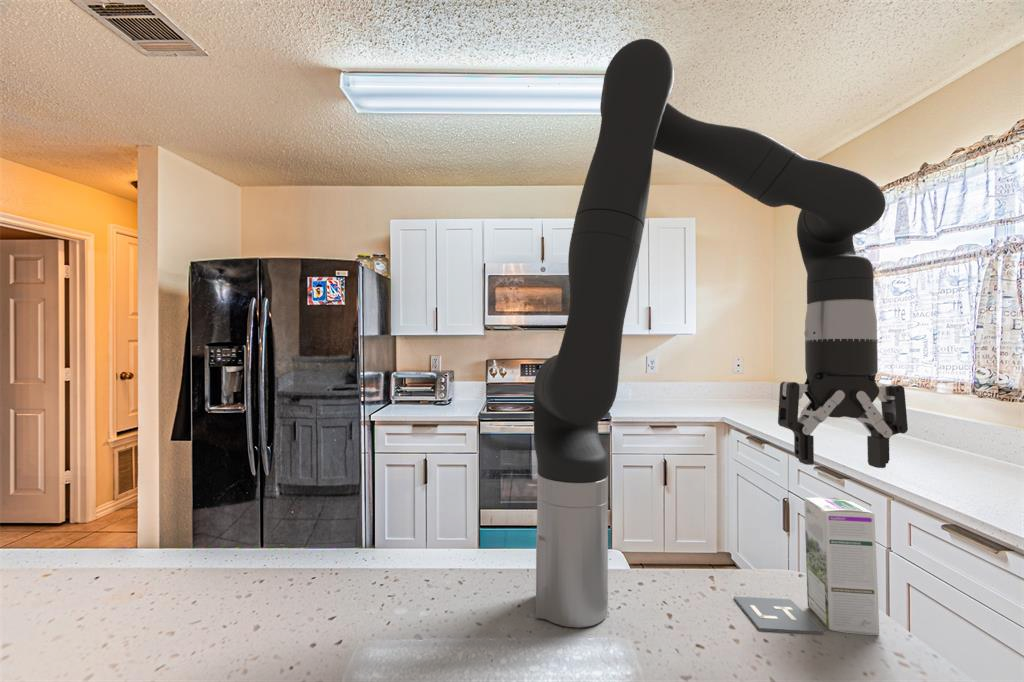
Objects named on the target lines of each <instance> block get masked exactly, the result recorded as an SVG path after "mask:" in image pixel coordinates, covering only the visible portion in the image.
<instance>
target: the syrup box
mask: <svg viewBox="0 0 1024 682" xmlns="http://www.w3.org/2000/svg"><path fill="white" fill-rule="evenodd" d="M803 501H804V528H805V529H804V531H805V535H804V536H805V561H806V562H805V563H806V569H805V571H806V589H807V591H806V594H807V595H806V596H807V599H806V600H807V607H808V608H809V609H810V610H811V612H813V614H814V615H815V616H816V617H817V618H818V619H819V620H820V621H821V622H822V623H823V625H824V626H825V627H826V628H827V629H828V630H830V631H832V632H837V633H838V632H840V633H846V634H856V635H868V636H880V617H879V616H880V615H879V614H880V613H879V591H878V590H879V588H878V585H879V584H878V569H877V546H876V545H877V544H876V522H875V520H876V519H875V513H874V512H873V511H870V510H868V509H867V508H865V507H863V506H861V505H859V504H858V503H857V504H856V502H854V501H851V500H850V499H845V498H837V497H828V496H826V497H822V496H821V497H804V500H803Z"/></svg>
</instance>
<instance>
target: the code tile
mask: <svg viewBox="0 0 1024 682" xmlns="http://www.w3.org/2000/svg"><path fill="white" fill-rule="evenodd" d="M733 599H734V601H735V602H736V603H737V604H738V606H739V607H740V608H741V610H742V611H743V612H744V614H745V615H746V616H747V617H748V619H750V621H751V622H752V623H753V624H754V626H755V627H756V628H757V630H758V631H761V632H778V633H779V632H780V633H798V634H812V635H813V634H814V635H815V634H816V635H824V634H825V632H824V629H822V628H821V627H819V625H818V624H817V623H815V622H814V620H813V619H812V618H810V617H809V616H808V615H807V614H806V613H805V612H804V611H803V610H802V608H800V607H799V606H798V605H797V604H796V603H795V602H794V601H793V600H792V599H791V598H776V597H775V598H772V597H771V598H770V597H752V596H748V597H747V596H737V595H736V596H733Z"/></svg>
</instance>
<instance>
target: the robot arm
mask: <svg viewBox="0 0 1024 682" xmlns="http://www.w3.org/2000/svg"><path fill="white" fill-rule="evenodd" d="M674 69H675V68H674V63H673V60H672V58H671V56H670V54H669V52H668V51H667V49H666V48H665V47H664V46H663V45H662V44H660V42H657V41H655V40H653V39H651V38H640V39H639V38H638V39H635V40H633V41H630V42H628V43H626V44H624V46H623V47H621V48H620V49H619V50H618V51H617V52H616V53H615V54H614V56H613V57H612V58H611V59H610V61H609V63H608V66H607V68H606V71H605V73H604V76H603V84H602V91H601V96H600V97H601V98H600V117H601V122H600V126H599V127H600V128H599V134H598V138H597V143H596V147H595V149H594V153H593V156H592V158H591V161H590V165H589V168H588V170H587V174H586V177H585V180H584V184H583V187H582V190H581V191H582V192H581V195H580V199H579V202H578V205H577V210H576V212H575V213H576V214H575V216H574V217H575V218H574V222H573V227H572V233H571V237H570V241H569V247H568V248H569V249H568V259H567V260H568V262H567V263H568V264H567V267H568V284H569V286H568V287H569V310H568V317H567V320H566V326H565V329H564V332H563V337H562V340H561V343H560V347H559V350H558V354H556V355H553V356H551V357H549V358H547V359H546V360H545V361H544V362H543V363H542V364H541V365H540V367H539V368H538V370H537V372H536V374H535V378H534V383H533V384H534V385H533V442H534V449H535V455H536V461H537V465H536V466H537V470H536V471H537V483H536V484H537V493H536V494H537V497H536V505H537V506H536V509H537V510H536V513H537V514H536V539H535V541H536V543H535V546H536V548H535V549H536V551H535V554H536V555H535V618H536V619H543V620H547V621H549V622H550V623H553V624H556V625H559V626H562V627H567V628H586V627H592V626H595V625H597V624H599V623H602V622H603V621H604V620H605V618H606V617H607V615H608V613H609V611H608V609H609V608H608V603H609V592H608V591H609V590H608V589H609V588H608V587H609V586H608V585H609V583H608V581H609V580H608V579H609V578H608V577H609V575H608V574H609V571H608V570H609V566H608V565H609V564H608V563H609V559H608V558H609V549H608V548H609V542H608V541H609V536H608V535H609V534H608V533H609V462H608V461H609V458H608V455H607V452H606V451H605V449H604V446H603V444H602V442H601V439H600V438H601V437H600V433H599V422H601V420H602V419H604V418H605V417H606V416H607V415H608V413H609V412H610V411H611V408H612V407H613V405H614V403H615V400H616V396H617V392H618V386H619V376H620V375H619V374H620V364H621V352H622V342H623V332H624V323H625V317H626V314H627V309H628V304H629V301H630V297H631V290H632V287H633V281H634V275H635V270H636V266H637V262H638V258H639V253H640V249H641V243H642V239H643V233H644V229H645V222H646V216H647V209H648V201H649V194H650V187H651V178H652V177H651V176H652V167H653V156H654V150H655V151H657V152H659V153H662V154H664V155H668V156H669V157H672V158H675V159H677V160H679V161H682V162H685V163H687V164H689V165H692V166H694V167H696V168H697V169H700V170H702V171H705V172H707V173H709V174H711V175H713V176H715V177H716V178H719V179H720V180H722V181H724V182H726V183H727V184H729V185H731V186H732V187H734V188H735V189H737V190H739V191H740V192H742V193H744V194H746V195H748V196H749V197H751V198H753V200H756V201H758V202H760V203H761V204H763V205H764V206H768V207H770V208H778V207H779V208H780V207H783V206H792V207H795V208H797V209H799V210H800V212H799V215H798V218H797V224H796V236H797V241H798V242H797V243H798V246H799V250H800V254H801V258H802V262H803V265H804V268H805V270H806V275H807V277H806V311H805V317H804V318H805V319H804V333H803V334H804V335H803V336H804V348H805V349H804V356H805V357H804V362H805V363H804V364H805V365H804V366H805V374H806V380H805V382H804V383H798V382H796V381H782V382H780V384H779V395H778V397H779V398H778V413H777V414H778V415H777V424H778V425H779V426H780V427H782V428H784V429H787V430H790V431H792V433H793V438H794V440H793V441H794V442H793V444H794V450H793V451H794V456H795V458H797V459H798V462H799V463H801V464H803V465H806V466H807V465H808V466H809V465H810V466H813V465H814V464H815V462H814V460H815V458H814V457H815V454H814V451H815V447H814V445H815V443H814V435H812V433H813V432H814V431H815V429H816V428H817V427H818V426H819V425H820V424H821V423H823V422H824V421H826V419H828V417H829V418H837V419H838V418H839V419H840V418H843V417H844V418H849V419H850V418H851V419H856V420H857V421H858V422H859V423H861V424H862V425H863V427H864V428H865V429H866V430H867V431H868V433H869V434H870V435H867V437H866V438H867V439H866V440H867V464H868V465H869V466H870V467H874V468H878V469H885V468H886V466H887V464H889V461H890V438H891V437H892V436H894V435H897V434H906V433H907V432H908V428H909V427H908V415H907V414H908V413H907V405H906V393H905V387H904V386H903V385H900V384H891V383H890V384H885V383H884V384H882V385H878V384H877V382H876V375H877V373H878V370H879V369H878V368H879V367H878V365H879V364H878V323H877V322H878V321H877V314H876V309H875V302H874V301H875V297H874V294H875V292H874V289H875V287H874V269H873V264H872V262H871V260H870V259H869V258H868V257H865V256H862V255H858V254H856V249H855V245H854V236H855V235H857V234H859V233H862V232H864V231H867V230H868V229H869V228H870V227H872V226H874V225H875V224H877V223H878V221H879V220H880V219H881V218H882V216H883V214H884V212H885V210H886V204H887V203H886V198H885V195H884V193H883V190H882V189H881V188H880V186H878V184H877V183H876V182H875V181H873V180H872V179H871V178H869V177H868V176H867V175H864V174H862V173H860V172H858V171H855V170H852V169H849V168H845V167H843V166H842V167H841V166H838V165H835V164H832V163H828V162H824V161H821V160H816V159H811V158H807V157H805V156H803V155H801V154H800V153H798V152H796V151H795V150H793V149H792V148H790V147H789V146H787V145H784V144H783V143H781V142H779V141H777V140H776V139H774V138H772V137H770V136H768V135H766V134H763V133H761V132H759V131H755V130H753V129H750V128H745V127H739V126H732V125H724V124H716V123H709V122H705V121H701V120H698V119H695V118H693V117H691V116H689V115H687V114H684V113H683V112H681V110H680V111H679V110H678V109H677V108H676V107H674V106H673V105H672V104H670V103H669V102H668V101H669V100H670V96H671V93H672V89H673V87H674V81H675V70H674ZM803 394H804V395H805V396H806V398H807V399H808V400H809V401H808V403H807V404H806V405H805V407H803V409H802V410H801V412H800V414H799V406H800V405H799V404H800V403H799V402H800V400H801V399H802V398H803V397H804V396H803ZM876 399H878V400H879V401H880V403H881V412H880V410H878V408H877V407H876V406H875V405H874V402H875V400H876Z"/></svg>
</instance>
